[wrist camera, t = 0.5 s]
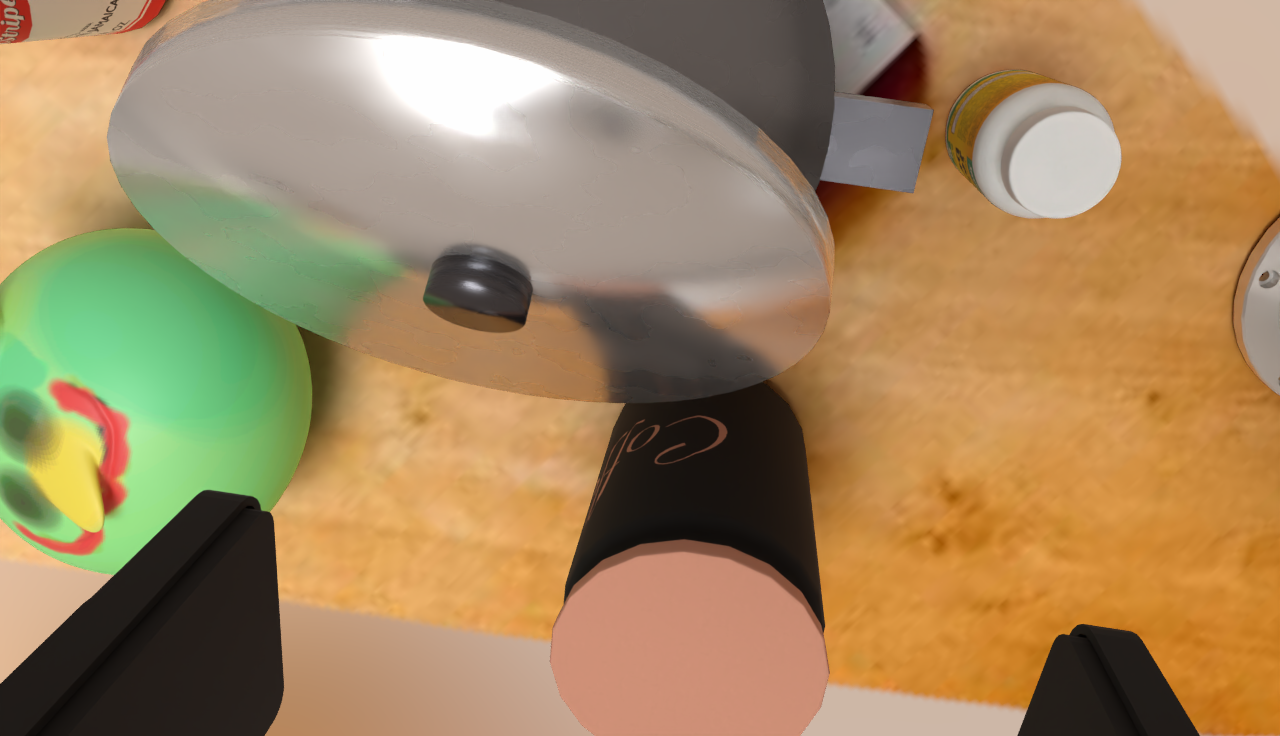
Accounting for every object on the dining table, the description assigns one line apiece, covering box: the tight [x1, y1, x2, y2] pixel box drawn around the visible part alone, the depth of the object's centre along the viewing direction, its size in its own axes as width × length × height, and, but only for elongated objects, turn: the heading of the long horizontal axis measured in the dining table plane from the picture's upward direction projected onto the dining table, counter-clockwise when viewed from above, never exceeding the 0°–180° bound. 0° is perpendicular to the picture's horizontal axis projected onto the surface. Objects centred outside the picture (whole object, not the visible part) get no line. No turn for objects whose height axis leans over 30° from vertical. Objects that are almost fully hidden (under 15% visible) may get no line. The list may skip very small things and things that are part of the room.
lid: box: [107, 0, 834, 403], centre depth 27 cm, size 20×20×2 cm
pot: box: [494, 0, 934, 193], centre depth 38 cm, size 27×20×12 cm
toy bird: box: [0, 228, 312, 575], centre depth 45 cm, size 18×17×15 cm
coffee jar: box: [550, 382, 830, 736], centre depth 43 cm, size 11×11×18 cm
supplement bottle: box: [946, 70, 1121, 219], centre depth 38 cm, size 5×5×10 cm
